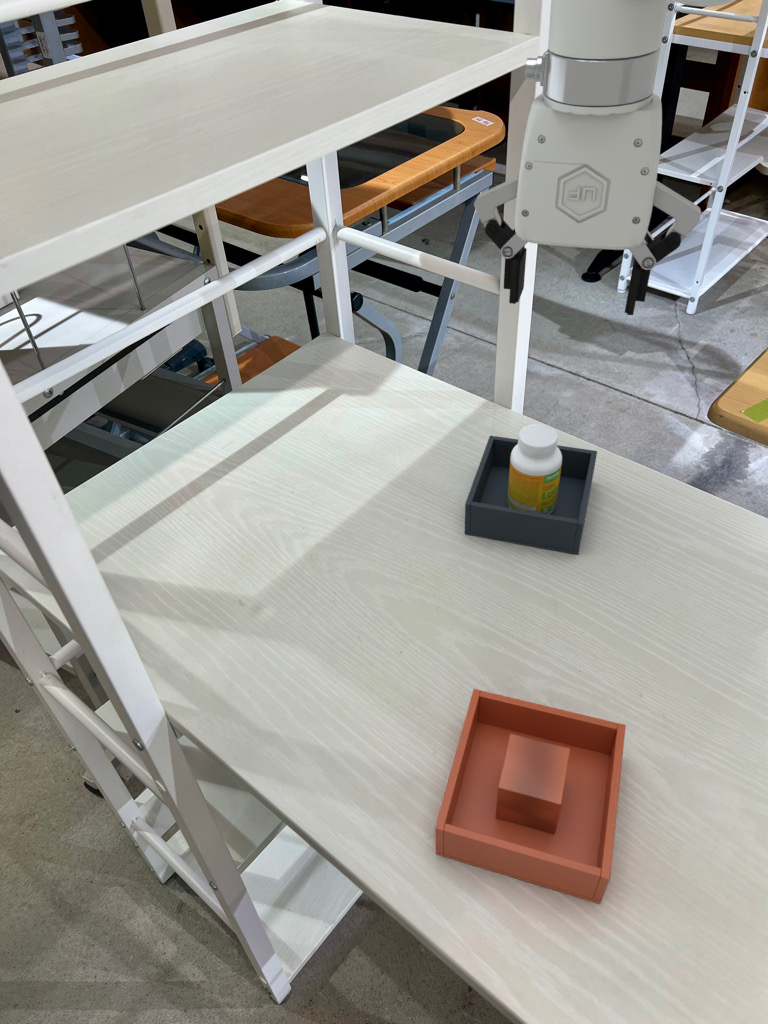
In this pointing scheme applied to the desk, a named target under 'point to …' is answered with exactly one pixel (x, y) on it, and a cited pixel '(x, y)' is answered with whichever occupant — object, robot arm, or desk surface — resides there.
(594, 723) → the terracotta bin
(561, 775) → the terracotta block
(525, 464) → the supplement bottle
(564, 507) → the slate bin
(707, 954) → the desk surface
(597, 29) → the robot arm
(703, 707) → the desk surface
